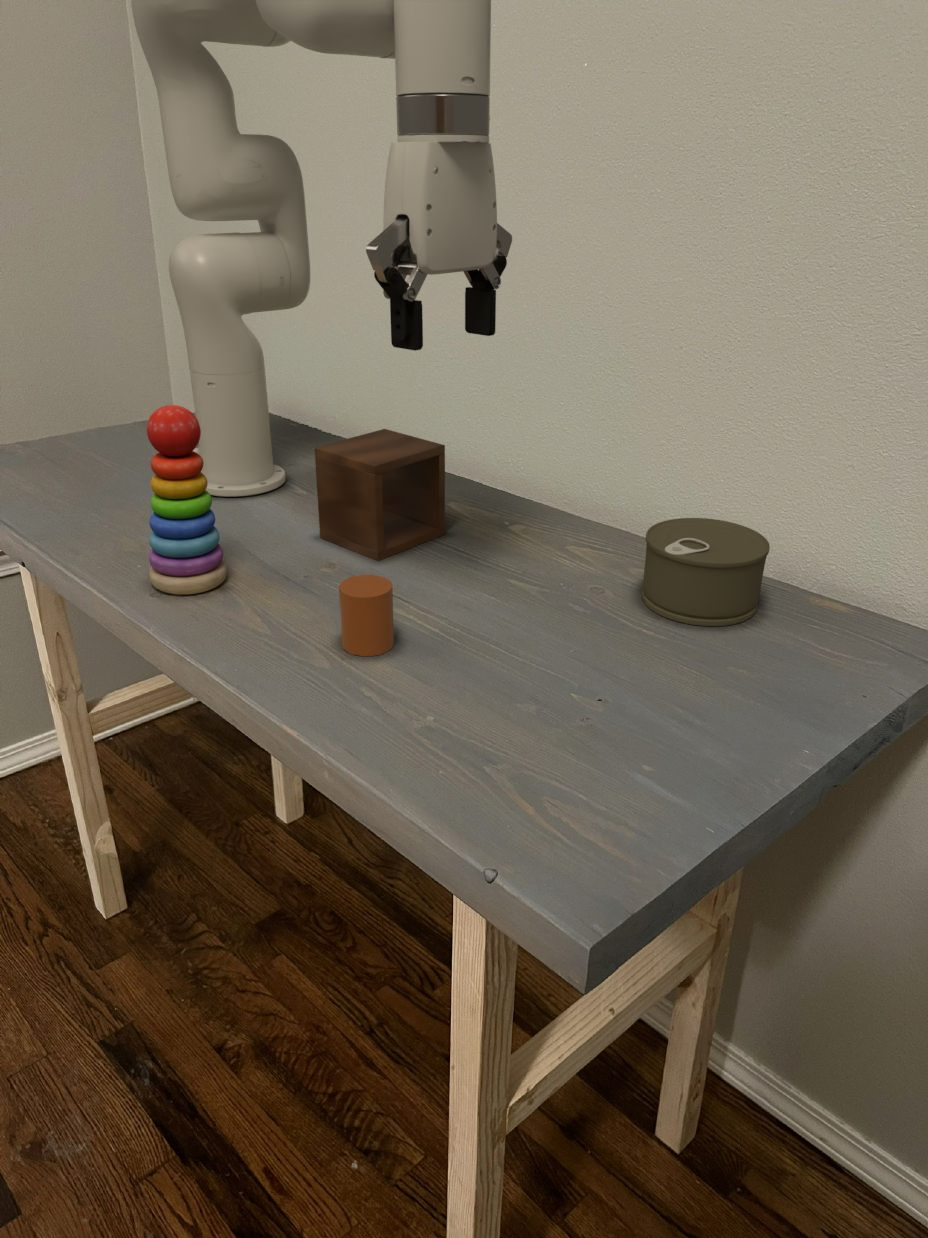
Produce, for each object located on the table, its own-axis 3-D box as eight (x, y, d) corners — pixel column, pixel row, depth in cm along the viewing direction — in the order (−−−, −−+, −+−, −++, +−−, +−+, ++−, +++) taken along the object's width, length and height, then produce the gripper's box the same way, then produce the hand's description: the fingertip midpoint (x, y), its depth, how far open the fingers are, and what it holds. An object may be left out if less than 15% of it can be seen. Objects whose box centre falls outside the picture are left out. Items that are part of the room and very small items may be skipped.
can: (783, 607, 94) (795, 544, 91) (705, 639, 88) (714, 573, 85) (692, 568, 103) (700, 509, 100) (615, 594, 96) (621, 533, 93)
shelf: (319, 537, 110) (314, 447, 105) (387, 514, 117) (384, 428, 112) (378, 561, 104) (374, 466, 99) (445, 534, 111) (445, 444, 106)
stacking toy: (162, 604, 93) (135, 420, 85) (141, 576, 99) (113, 401, 91) (238, 587, 97) (219, 409, 89) (213, 561, 103) (193, 392, 95)
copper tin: (331, 644, 86) (328, 586, 83) (369, 627, 89) (367, 570, 87) (366, 662, 83) (364, 601, 81) (404, 643, 86) (403, 585, 84)
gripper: (476, 127, 83) (475, 325, 91) (332, 121, 71) (344, 349, 79) (544, 125, 79) (536, 333, 86) (401, 118, 67) (408, 360, 74)
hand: (445, 340), depth 83 cm, fingers open, 9 cm apart
